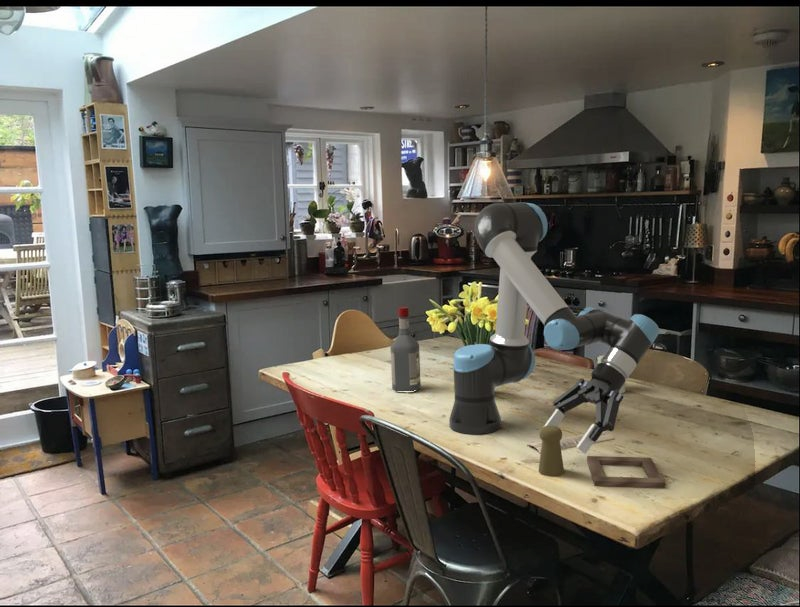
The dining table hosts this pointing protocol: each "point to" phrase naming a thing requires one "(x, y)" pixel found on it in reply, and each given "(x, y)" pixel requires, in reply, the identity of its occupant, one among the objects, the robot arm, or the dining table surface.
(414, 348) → the liquor
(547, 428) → the olive pawn
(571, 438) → the newspaper
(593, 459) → the cutout board
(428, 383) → the dining table surface
